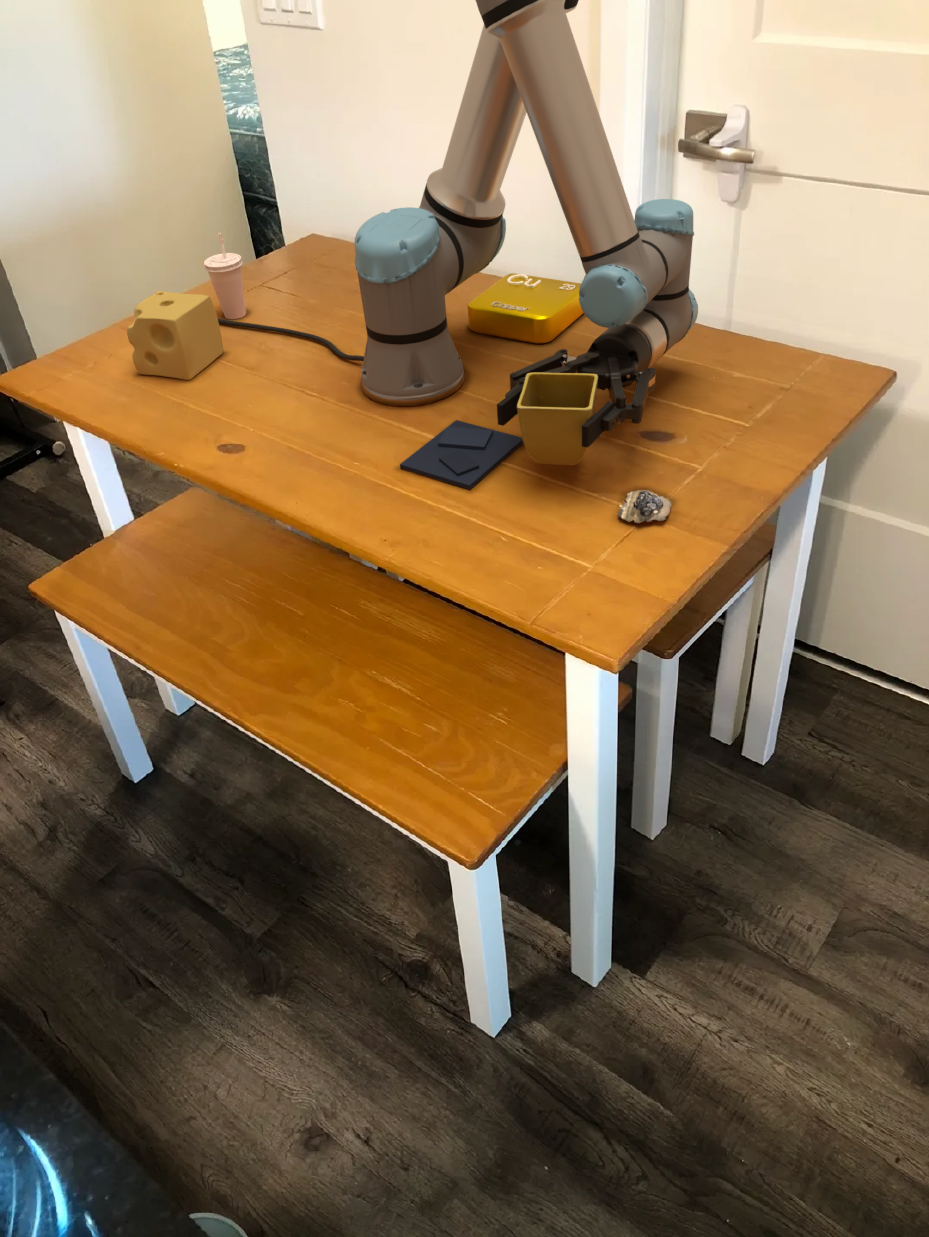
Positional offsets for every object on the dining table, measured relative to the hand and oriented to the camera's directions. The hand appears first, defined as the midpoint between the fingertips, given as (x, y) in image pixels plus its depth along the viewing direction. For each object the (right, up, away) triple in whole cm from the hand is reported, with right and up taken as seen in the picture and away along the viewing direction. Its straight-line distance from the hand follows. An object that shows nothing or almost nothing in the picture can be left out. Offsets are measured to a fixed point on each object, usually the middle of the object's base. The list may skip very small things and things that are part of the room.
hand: (541, 425), depth 116 cm
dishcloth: (-9, -1, +14) cm, 16 cm away
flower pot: (+3, -3, +7) cm, 8 cm away
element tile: (+1, +26, +45) cm, 52 cm away
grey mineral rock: (+12, -10, +1) cm, 16 cm away
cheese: (-54, +18, +42) cm, 71 cm away
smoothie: (-49, +30, +56) cm, 80 cm away
